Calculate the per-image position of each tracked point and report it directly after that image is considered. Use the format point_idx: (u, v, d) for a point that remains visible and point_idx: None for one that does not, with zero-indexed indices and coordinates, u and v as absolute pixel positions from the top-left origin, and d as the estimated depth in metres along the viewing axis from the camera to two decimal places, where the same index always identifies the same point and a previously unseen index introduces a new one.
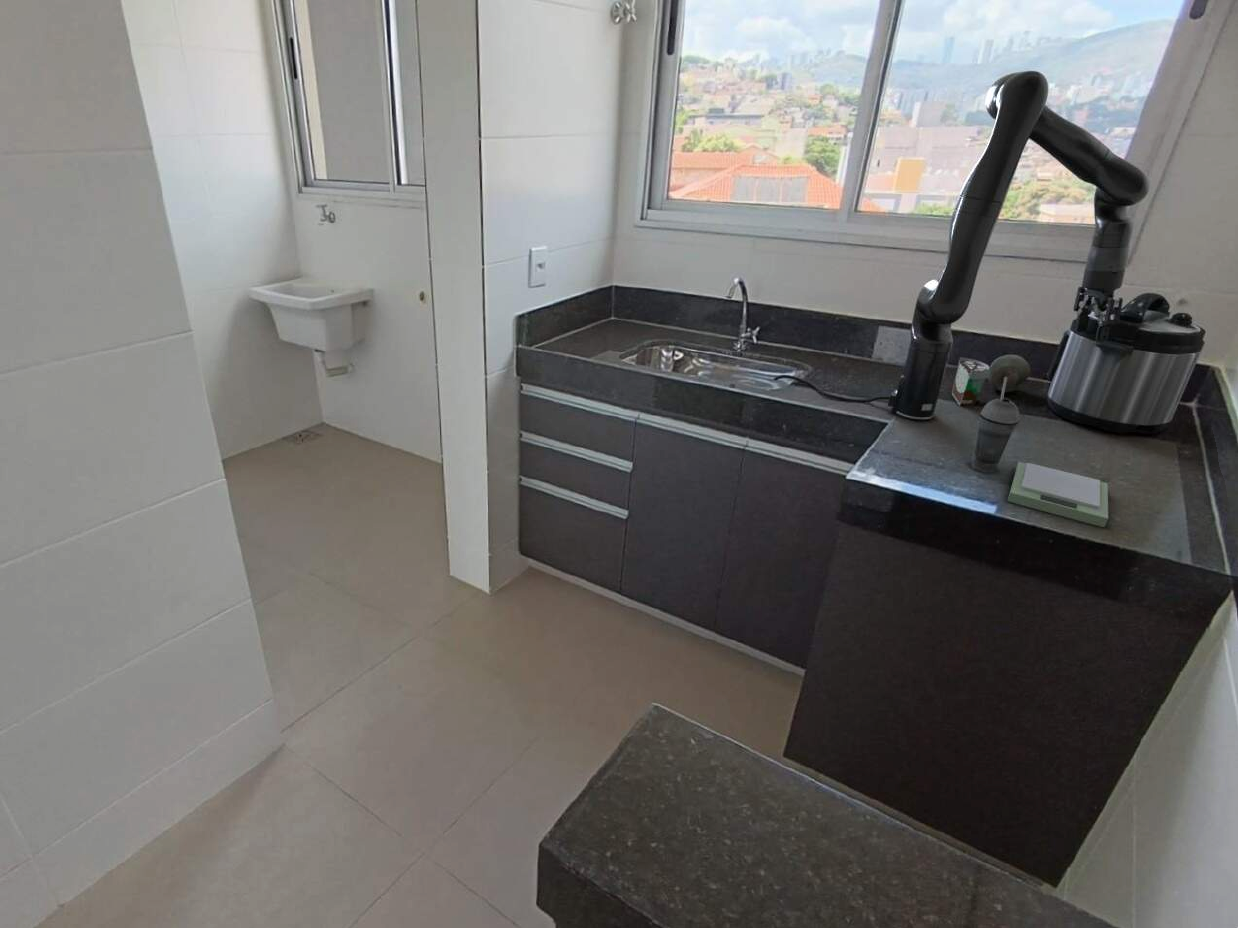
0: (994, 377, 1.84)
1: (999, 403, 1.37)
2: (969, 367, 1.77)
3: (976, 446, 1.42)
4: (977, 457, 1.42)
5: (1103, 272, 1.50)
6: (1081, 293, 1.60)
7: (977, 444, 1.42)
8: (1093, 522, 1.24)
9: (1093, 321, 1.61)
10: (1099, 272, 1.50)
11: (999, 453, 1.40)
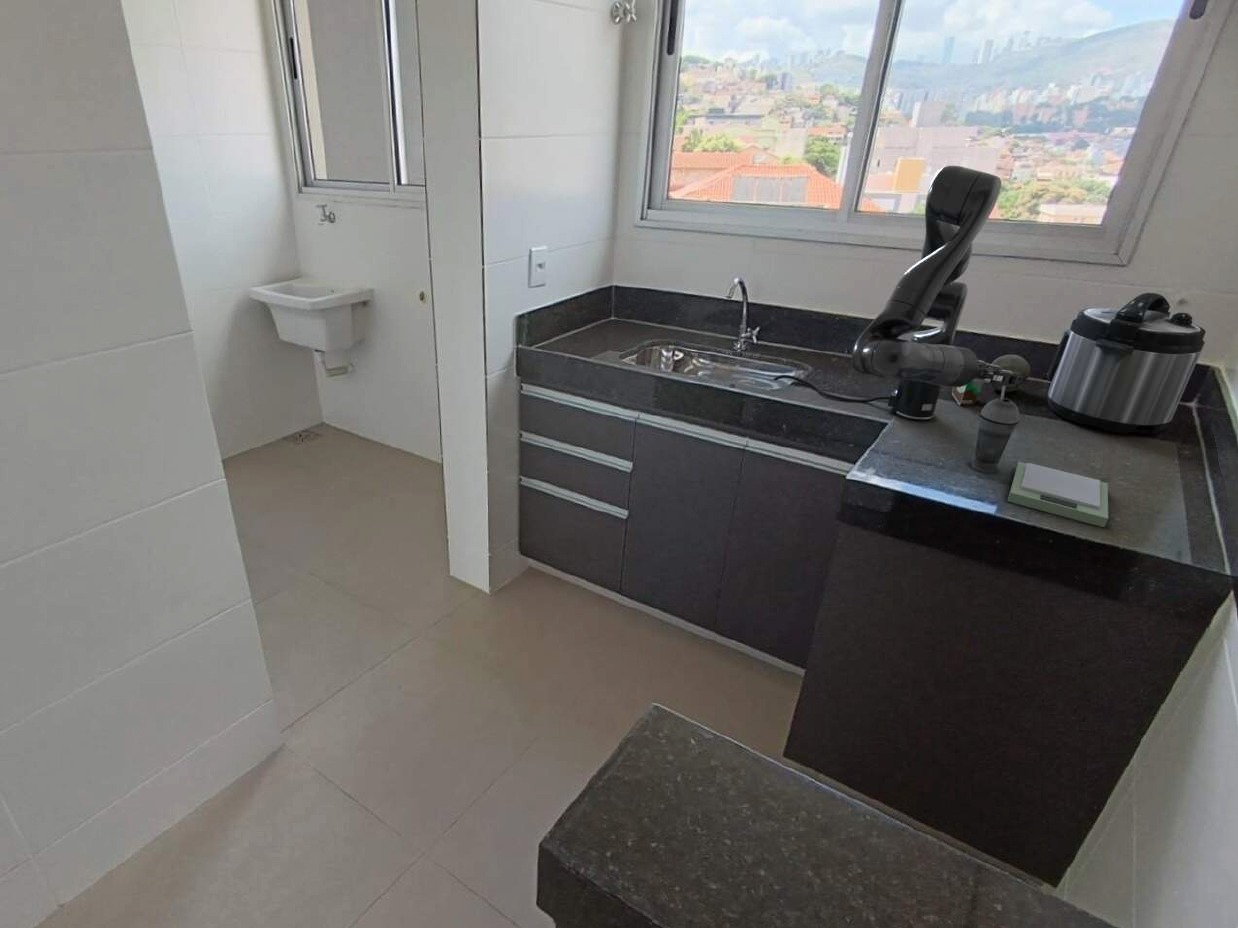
0: None
1: (999, 403, 1.37)
2: None
3: (976, 446, 1.42)
4: (977, 457, 1.42)
5: None
6: None
7: (977, 444, 1.42)
8: (1093, 522, 1.24)
9: (1093, 321, 1.61)
10: None
11: (999, 453, 1.40)
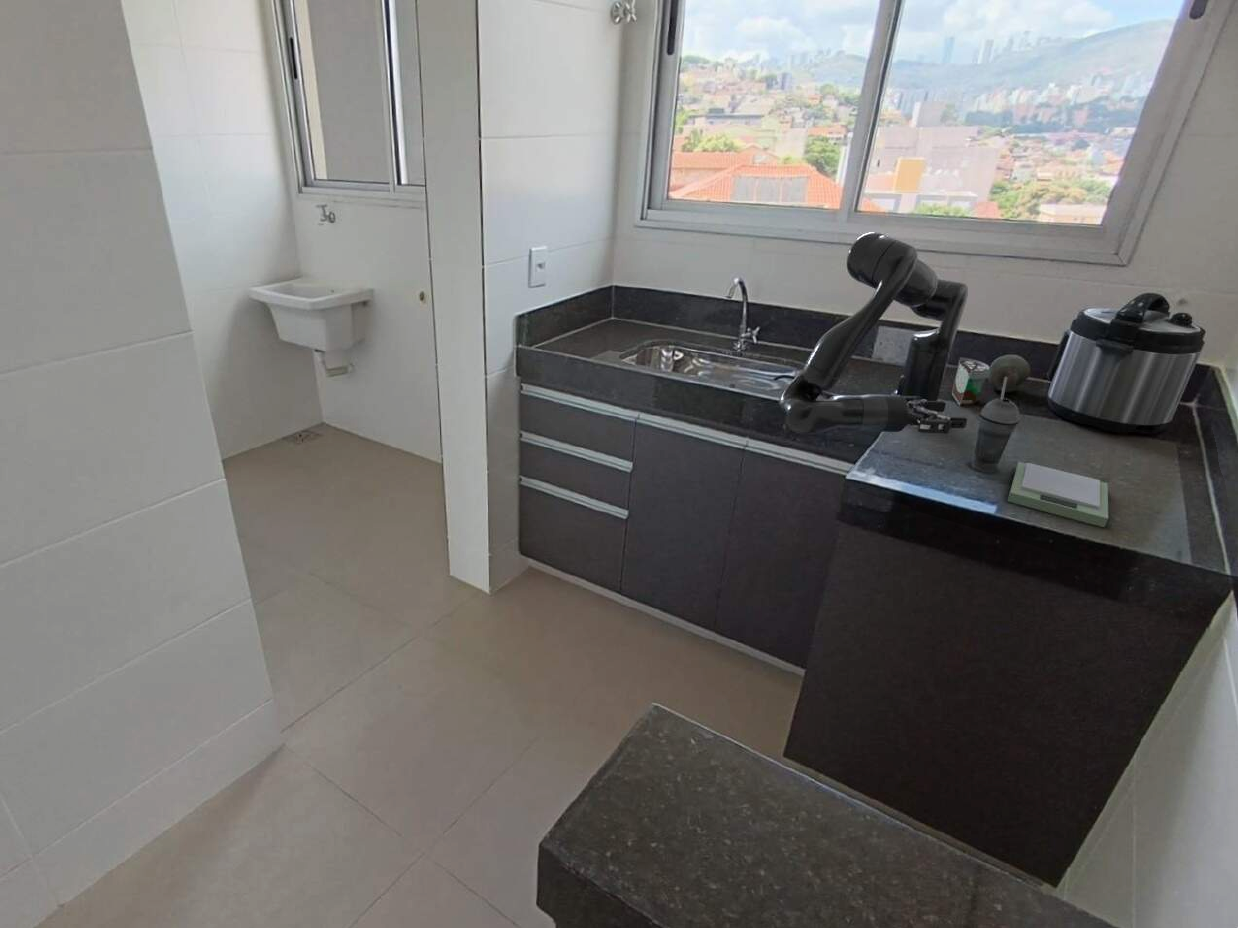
0: (994, 377, 1.84)
1: (999, 403, 1.37)
2: (969, 367, 1.77)
3: (976, 446, 1.42)
4: (977, 457, 1.42)
5: None
6: None
7: (977, 444, 1.42)
8: (1093, 522, 1.24)
9: (1093, 321, 1.61)
10: None
11: (999, 453, 1.40)
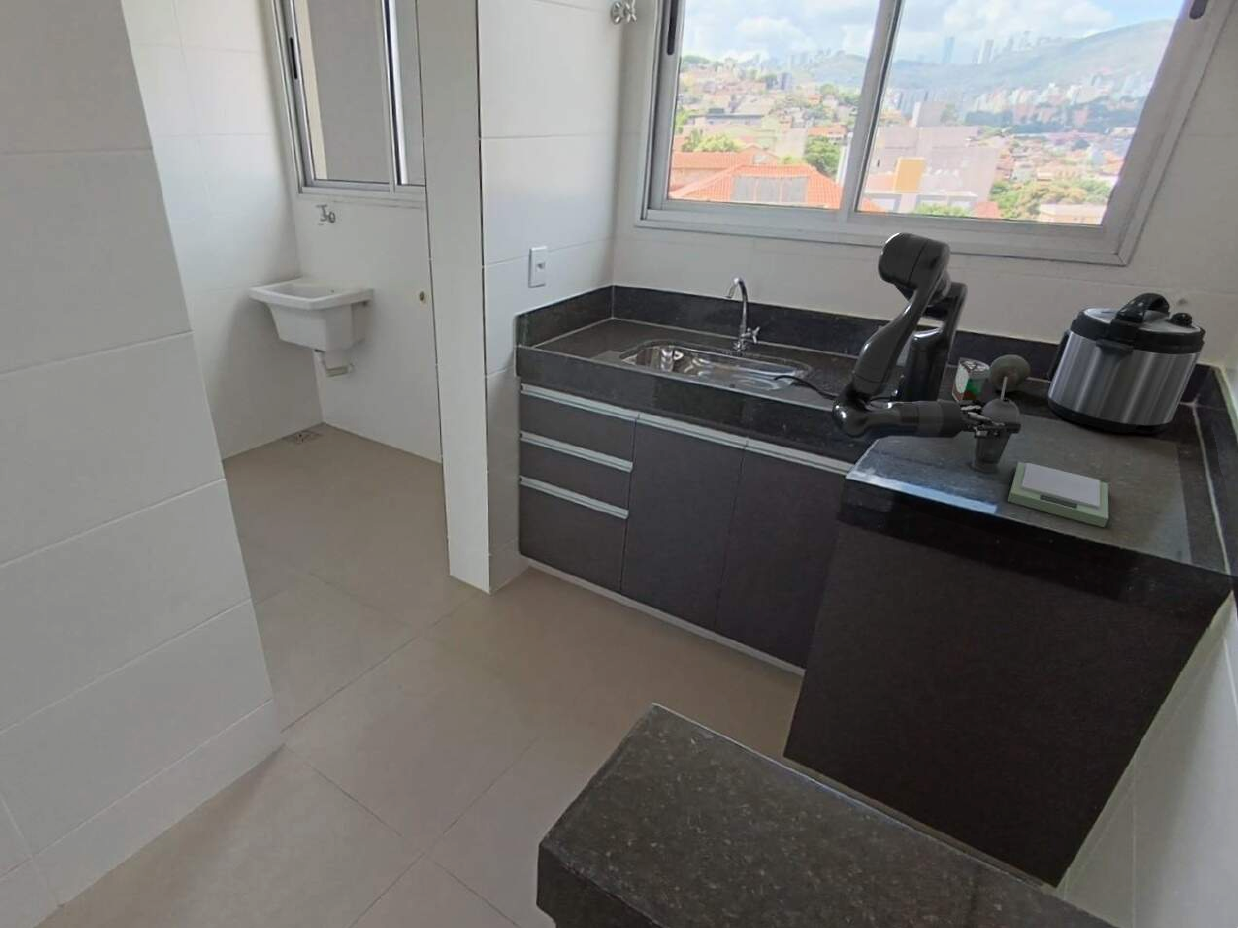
0: (994, 377, 1.84)
1: (999, 403, 1.37)
2: (969, 367, 1.77)
3: (976, 446, 1.42)
4: (978, 457, 1.42)
5: None
6: None
7: (977, 444, 1.42)
8: (1093, 522, 1.24)
9: (1093, 321, 1.61)
10: None
11: (999, 453, 1.40)
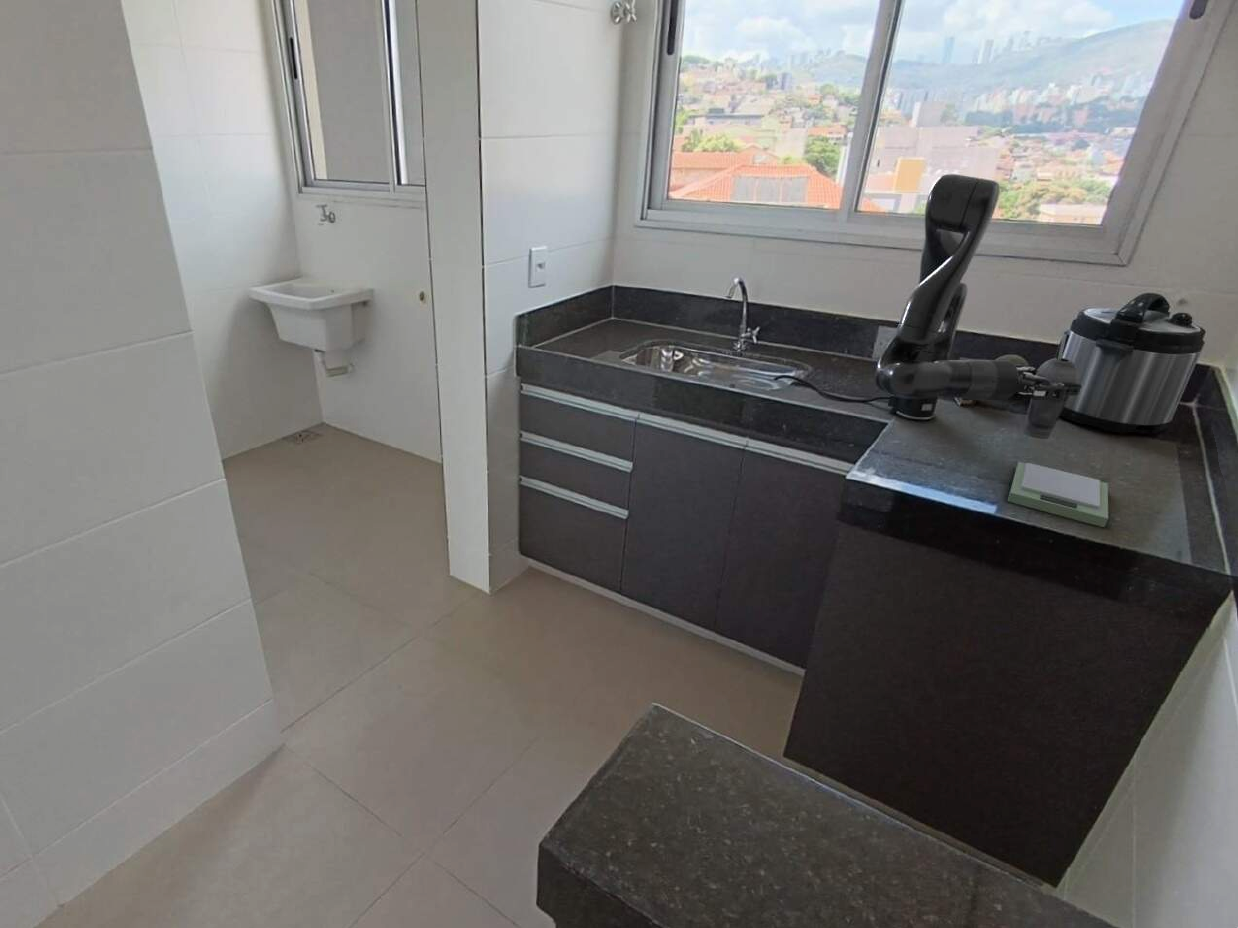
0: None
1: (1057, 363, 1.27)
2: None
3: (1029, 410, 1.32)
4: (1031, 422, 1.32)
5: None
6: None
7: (1031, 408, 1.32)
8: (1093, 522, 1.24)
9: (1093, 321, 1.61)
10: None
11: (1055, 417, 1.30)
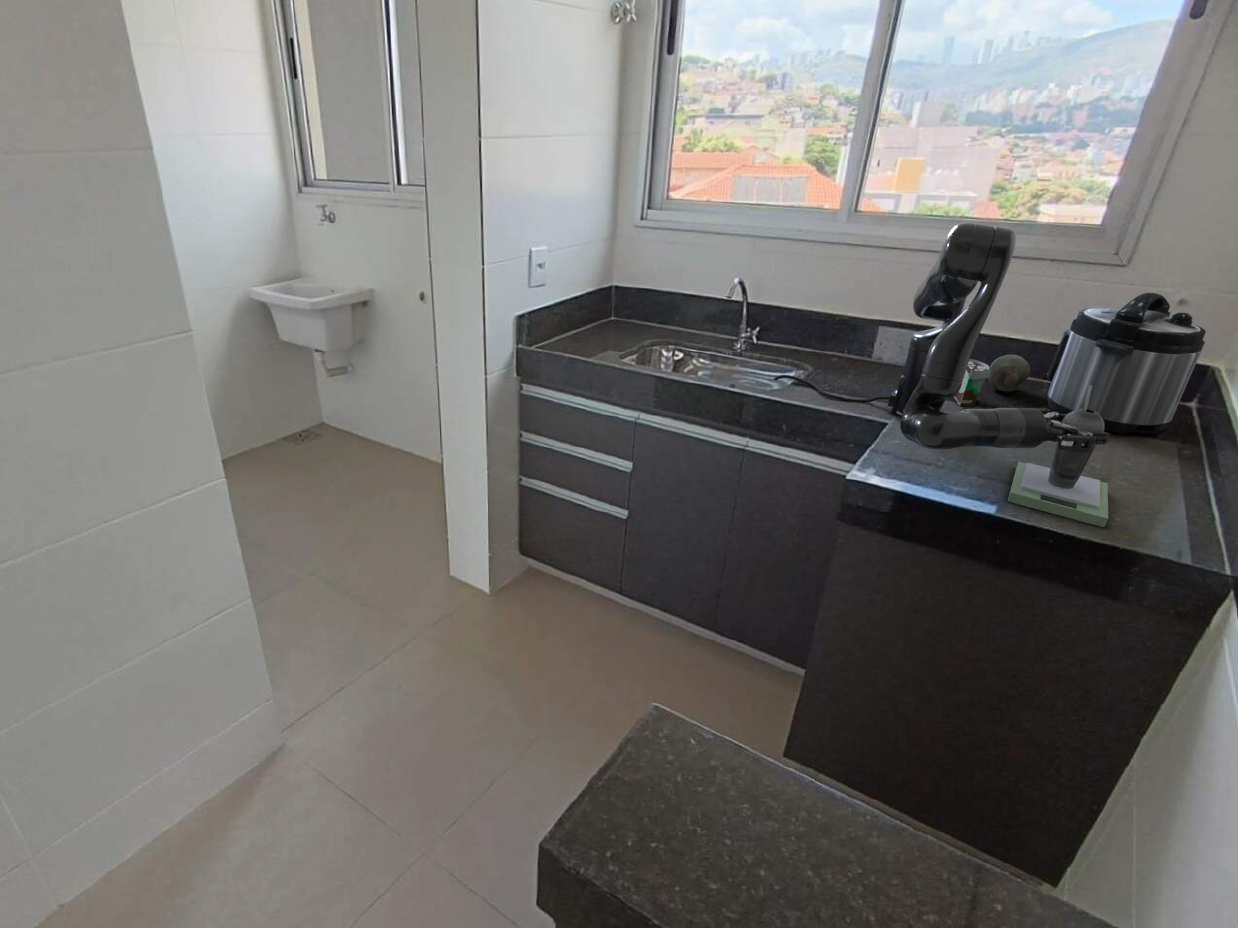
0: (994, 377, 1.84)
1: (1083, 414, 1.26)
2: (969, 367, 1.77)
3: (1055, 460, 1.31)
4: (1056, 472, 1.31)
5: None
6: None
7: (1056, 458, 1.31)
8: (1093, 522, 1.24)
9: (1093, 321, 1.61)
10: None
11: (1081, 468, 1.29)
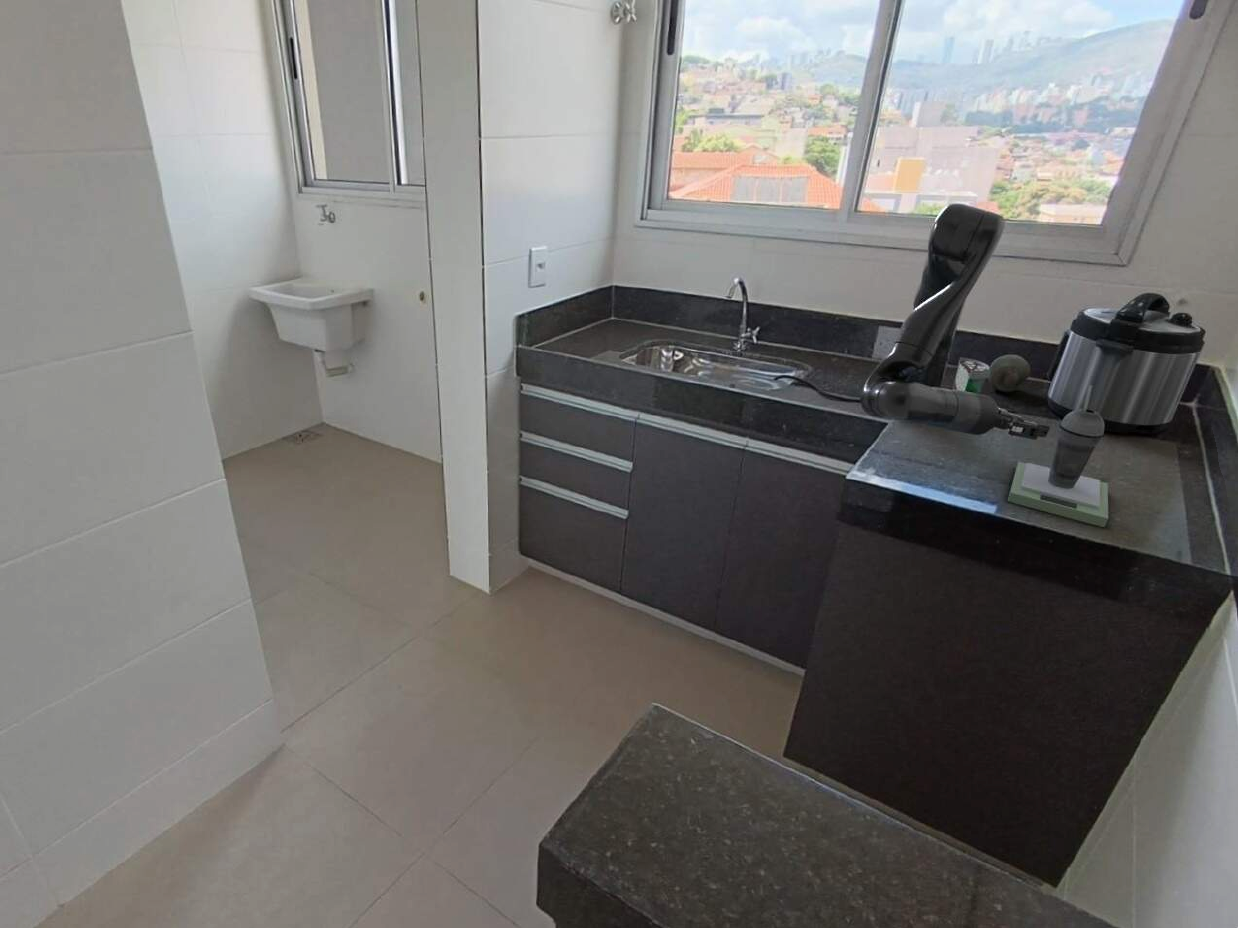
0: (994, 377, 1.84)
1: (1083, 414, 1.26)
2: (969, 367, 1.77)
3: (1054, 460, 1.31)
4: (1056, 472, 1.31)
5: None
6: None
7: (1056, 458, 1.31)
8: (1093, 522, 1.24)
9: (1093, 321, 1.61)
10: None
11: (1081, 468, 1.29)
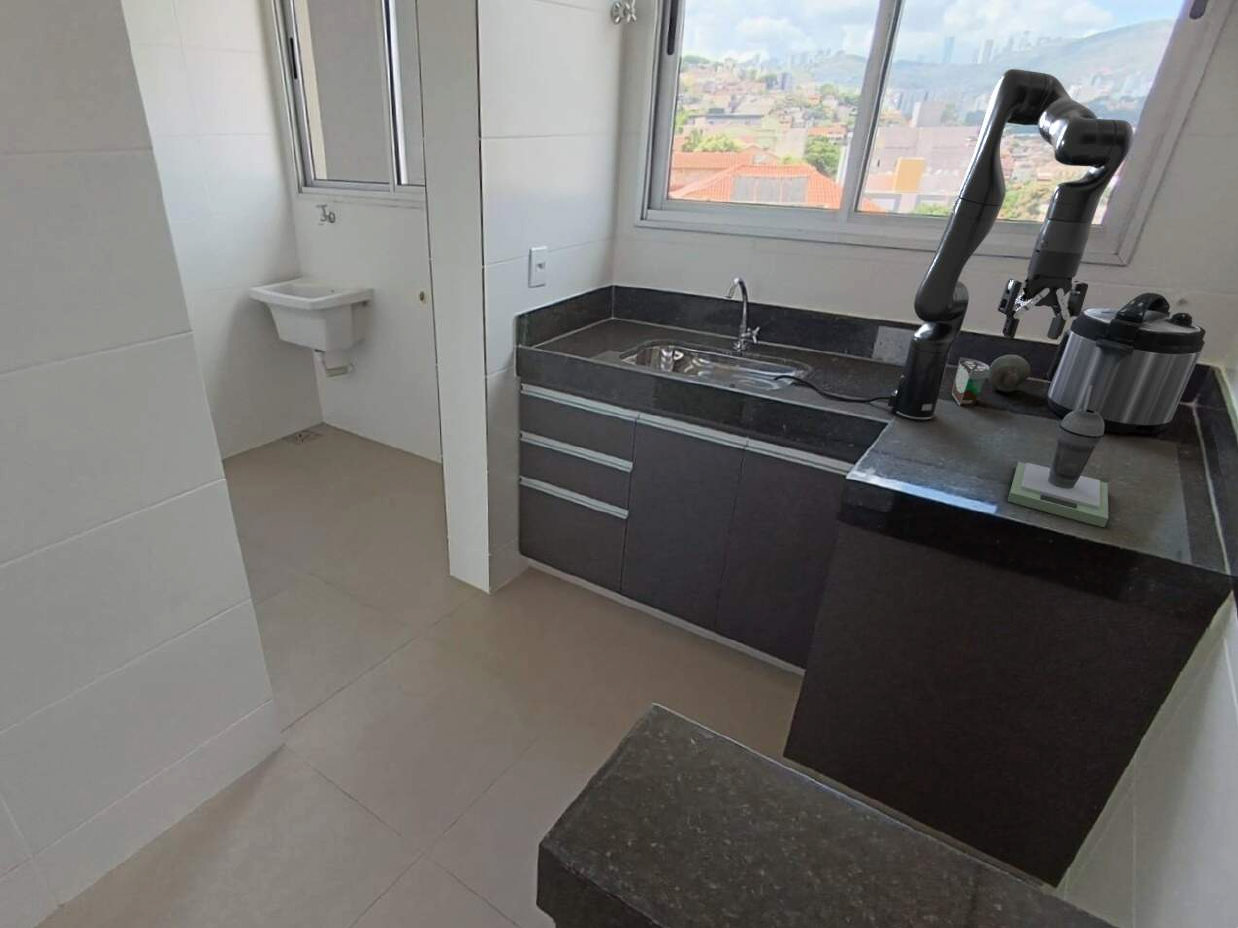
0: (994, 377, 1.84)
1: (1083, 414, 1.26)
2: (969, 367, 1.77)
3: (1054, 460, 1.31)
4: (1056, 472, 1.31)
5: (1034, 248, 1.19)
6: None
7: (1056, 458, 1.31)
8: (1093, 522, 1.24)
9: (1093, 321, 1.61)
10: None
11: (1081, 468, 1.29)
